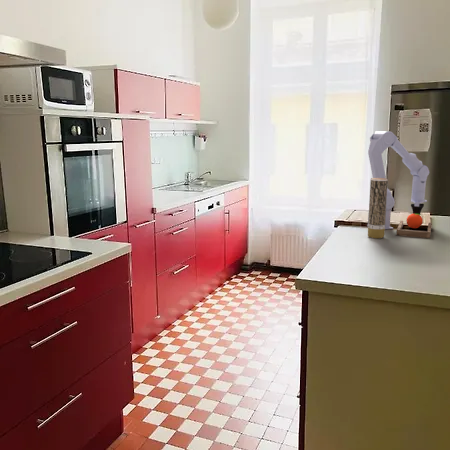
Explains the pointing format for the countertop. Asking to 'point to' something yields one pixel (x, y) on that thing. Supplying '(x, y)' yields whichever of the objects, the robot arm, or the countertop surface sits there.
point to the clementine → (414, 220)
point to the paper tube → (377, 207)
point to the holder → (413, 232)
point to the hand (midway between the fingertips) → (416, 219)
